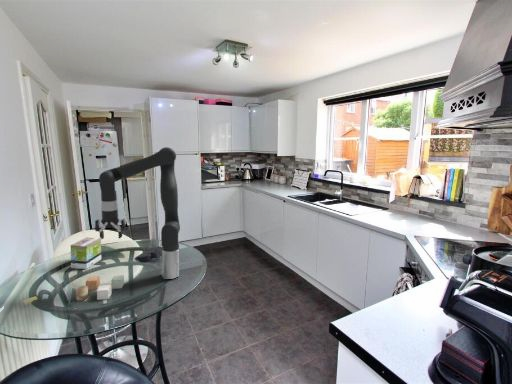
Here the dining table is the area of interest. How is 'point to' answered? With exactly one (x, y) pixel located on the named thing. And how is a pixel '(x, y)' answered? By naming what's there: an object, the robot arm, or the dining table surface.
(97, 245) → the tea box
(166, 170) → the robot arm
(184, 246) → the dining table surface
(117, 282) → the sage block
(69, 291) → the dining table surface
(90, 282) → the terracotta block
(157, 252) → the dark slate chunk
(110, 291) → the cream block
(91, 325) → the dining table surface
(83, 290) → the maple cylinder
